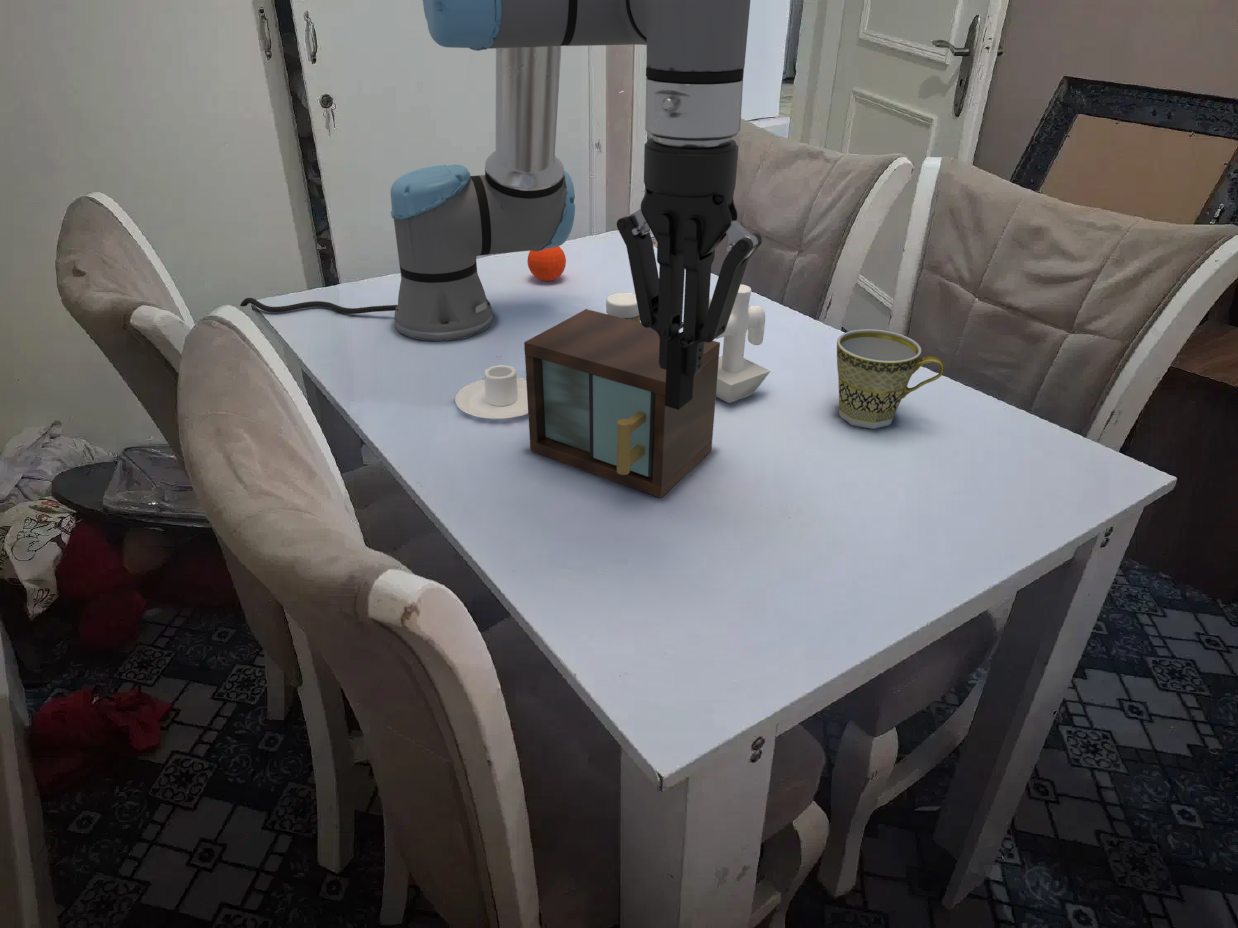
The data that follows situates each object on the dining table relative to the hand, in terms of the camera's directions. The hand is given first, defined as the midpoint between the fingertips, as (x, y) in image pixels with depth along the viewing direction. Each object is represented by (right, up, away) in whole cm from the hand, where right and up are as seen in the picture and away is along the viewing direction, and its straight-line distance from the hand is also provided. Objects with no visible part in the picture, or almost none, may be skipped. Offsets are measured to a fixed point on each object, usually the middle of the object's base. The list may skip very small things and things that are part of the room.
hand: (678, 402), depth 77 cm
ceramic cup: (+27, 0, +27) cm, 39 cm away
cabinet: (-5, -4, +20) cm, 21 cm away
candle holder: (-21, +2, +31) cm, 37 cm away
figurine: (+9, +4, +33) cm, 35 cm away
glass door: (-6, -7, +12) cm, 15 cm away
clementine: (-19, +28, +72) cm, 79 cm away
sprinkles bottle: (-5, +4, +33) cm, 34 cm away
